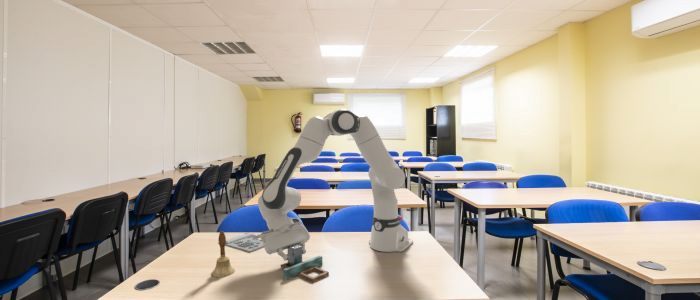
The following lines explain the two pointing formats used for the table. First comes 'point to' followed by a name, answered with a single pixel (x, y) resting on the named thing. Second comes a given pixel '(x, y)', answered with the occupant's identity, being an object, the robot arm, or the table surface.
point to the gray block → (294, 255)
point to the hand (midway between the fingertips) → (295, 256)
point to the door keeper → (305, 269)
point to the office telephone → (245, 242)
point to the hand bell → (222, 260)
